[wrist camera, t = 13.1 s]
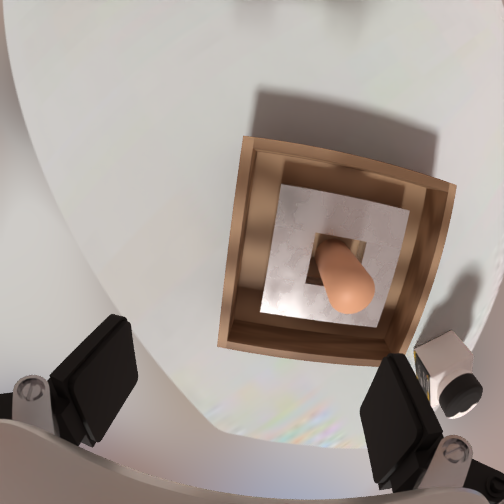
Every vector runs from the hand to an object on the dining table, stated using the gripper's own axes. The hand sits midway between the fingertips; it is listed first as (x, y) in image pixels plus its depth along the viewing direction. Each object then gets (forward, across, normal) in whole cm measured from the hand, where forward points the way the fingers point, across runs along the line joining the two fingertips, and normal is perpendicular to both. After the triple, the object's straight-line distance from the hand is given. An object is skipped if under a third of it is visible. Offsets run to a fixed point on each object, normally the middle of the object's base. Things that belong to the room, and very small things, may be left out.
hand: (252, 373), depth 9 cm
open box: (+24, -7, +2) cm, 25 cm away
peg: (+23, -7, +2) cm, 24 cm away
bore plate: (+24, -7, +2) cm, 25 cm away
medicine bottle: (+24, -28, +16) cm, 40 cm away
